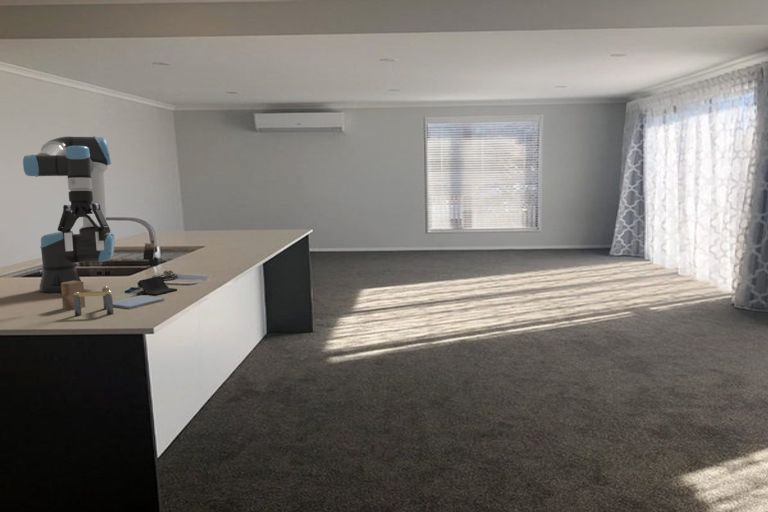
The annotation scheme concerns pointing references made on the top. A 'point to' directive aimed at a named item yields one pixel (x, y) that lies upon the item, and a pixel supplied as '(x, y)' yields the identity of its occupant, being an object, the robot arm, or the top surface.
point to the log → (167, 276)
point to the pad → (136, 301)
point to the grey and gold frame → (106, 295)
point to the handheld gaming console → (155, 286)
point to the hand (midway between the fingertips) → (84, 250)
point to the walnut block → (71, 293)
